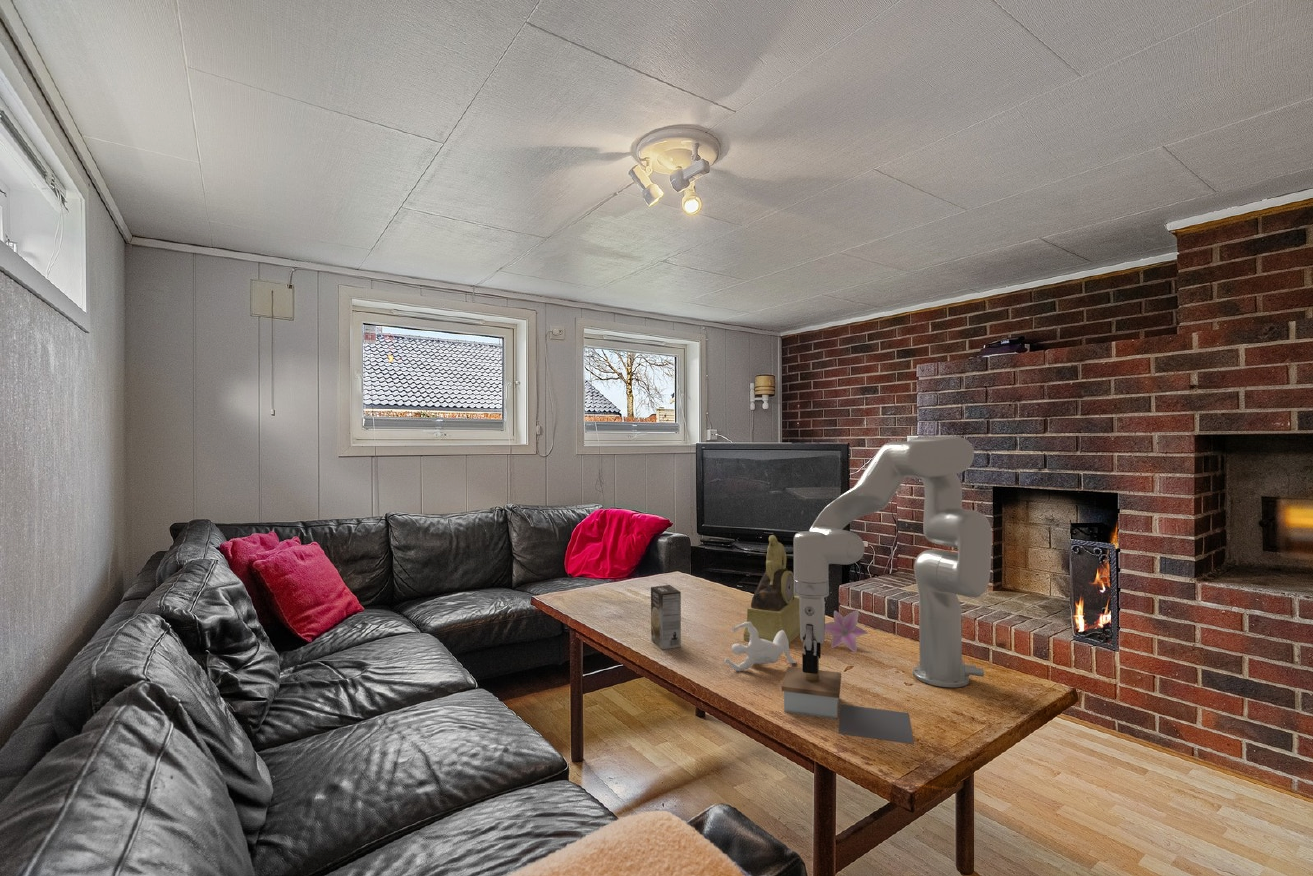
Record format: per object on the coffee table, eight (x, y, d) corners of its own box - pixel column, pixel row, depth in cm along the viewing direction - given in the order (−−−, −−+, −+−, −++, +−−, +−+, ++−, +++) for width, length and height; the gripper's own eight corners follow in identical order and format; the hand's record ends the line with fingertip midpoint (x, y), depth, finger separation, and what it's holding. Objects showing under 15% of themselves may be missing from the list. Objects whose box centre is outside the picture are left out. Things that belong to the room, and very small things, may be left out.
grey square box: (838, 699, 137) (838, 677, 137) (837, 720, 127) (836, 697, 127) (789, 693, 141) (789, 672, 141) (784, 713, 131) (784, 690, 131)
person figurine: (764, 614, 168) (733, 618, 154) (806, 633, 160) (777, 639, 146) (751, 660, 168) (719, 668, 154) (793, 680, 160) (763, 691, 146)
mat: (908, 714, 129) (908, 713, 129) (914, 746, 116) (914, 744, 116) (840, 706, 134) (840, 704, 134) (838, 735, 121) (838, 733, 121)
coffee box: (650, 640, 180) (649, 586, 180) (669, 637, 182) (669, 584, 182) (661, 650, 171) (661, 593, 171) (682, 647, 173) (681, 591, 174)
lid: (841, 677, 138) (840, 650, 138) (839, 698, 126) (839, 669, 126) (788, 671, 142) (787, 645, 142) (781, 691, 130) (781, 663, 130)
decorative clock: (785, 647, 173) (784, 543, 173) (743, 640, 179) (742, 539, 179) (812, 622, 197) (811, 530, 197) (774, 616, 203) (774, 527, 204)
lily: (815, 644, 178) (814, 621, 173) (840, 623, 183) (840, 599, 179) (849, 668, 169) (850, 644, 164) (874, 644, 175) (875, 620, 170)
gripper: (826, 598, 125) (827, 682, 125) (830, 580, 141) (831, 653, 141) (789, 596, 127) (790, 677, 127) (797, 578, 144) (798, 650, 143)
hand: (811, 665), depth 134 cm, fingers open, 9 cm apart
